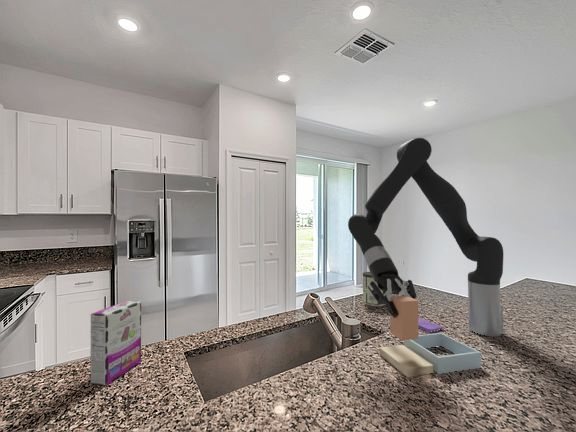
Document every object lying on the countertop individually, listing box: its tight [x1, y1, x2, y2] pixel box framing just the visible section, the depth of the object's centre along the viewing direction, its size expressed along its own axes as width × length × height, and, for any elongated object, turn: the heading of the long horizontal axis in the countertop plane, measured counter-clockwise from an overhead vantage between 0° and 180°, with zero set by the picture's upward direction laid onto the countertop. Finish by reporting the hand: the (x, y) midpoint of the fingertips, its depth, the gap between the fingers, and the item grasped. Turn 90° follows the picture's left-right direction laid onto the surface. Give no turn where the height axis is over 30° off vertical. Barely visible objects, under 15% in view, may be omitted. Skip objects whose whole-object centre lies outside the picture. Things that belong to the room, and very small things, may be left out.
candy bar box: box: [89, 300, 142, 386], centre depth 68 cm, size 11×5×16 cm, turn 168°
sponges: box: [418, 316, 444, 332], centre depth 101 cm, size 7×13×2 cm, turn 23°
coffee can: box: [362, 271, 386, 307], centre depth 129 cm, size 10×10×14 cm
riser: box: [379, 344, 434, 378], centre depth 73 cm, size 8×12×2 cm, turn 14°
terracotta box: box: [389, 295, 419, 342], centre depth 73 cm, size 5×5×10 cm
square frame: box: [403, 332, 482, 375], centre depth 76 cm, size 13×13×4 cm
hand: (405, 315), depth 73 cm, fingers closed on terracotta box, 5 cm apart
